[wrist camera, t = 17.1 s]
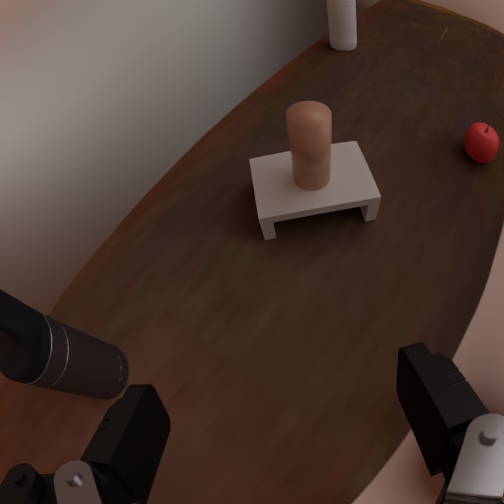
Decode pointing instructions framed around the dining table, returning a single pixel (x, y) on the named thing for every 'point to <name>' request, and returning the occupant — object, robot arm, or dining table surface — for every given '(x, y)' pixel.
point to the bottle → (342, 24)
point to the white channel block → (318, 201)
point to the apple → (481, 142)
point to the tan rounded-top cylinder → (310, 144)
